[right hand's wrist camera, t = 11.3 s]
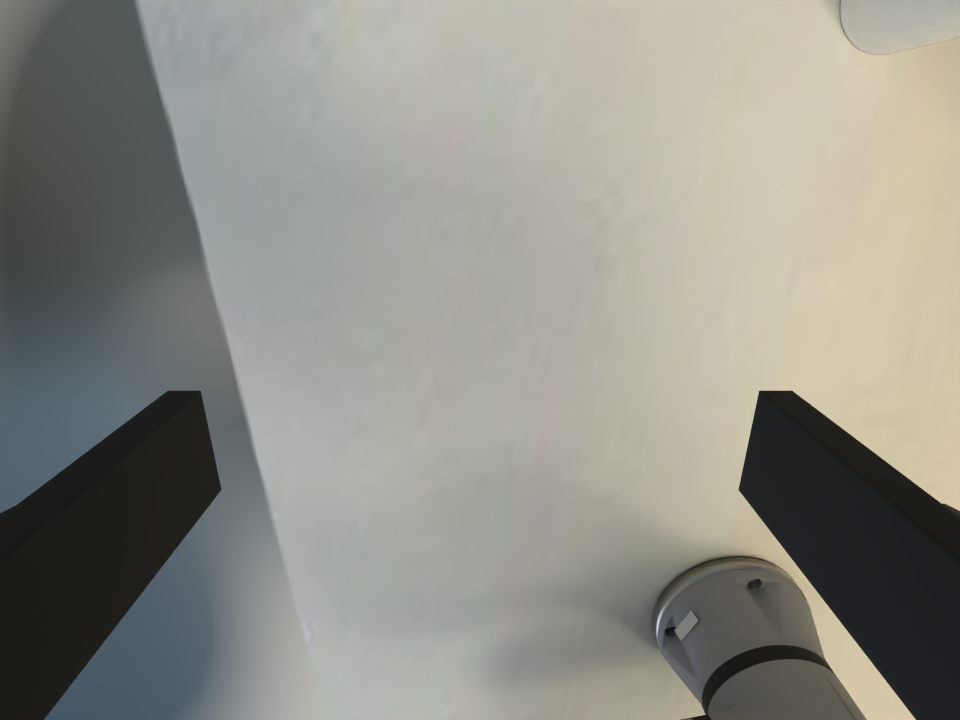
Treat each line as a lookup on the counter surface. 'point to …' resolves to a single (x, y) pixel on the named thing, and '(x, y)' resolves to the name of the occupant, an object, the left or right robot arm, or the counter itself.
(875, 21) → the bottle
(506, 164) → the counter surface
